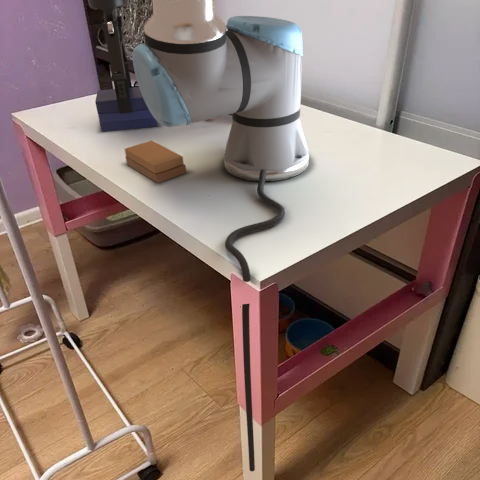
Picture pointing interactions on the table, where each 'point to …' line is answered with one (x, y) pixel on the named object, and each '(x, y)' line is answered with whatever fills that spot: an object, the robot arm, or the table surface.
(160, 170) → the brown pile
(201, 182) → the table surface
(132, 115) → the navy pile
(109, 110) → the navy book
